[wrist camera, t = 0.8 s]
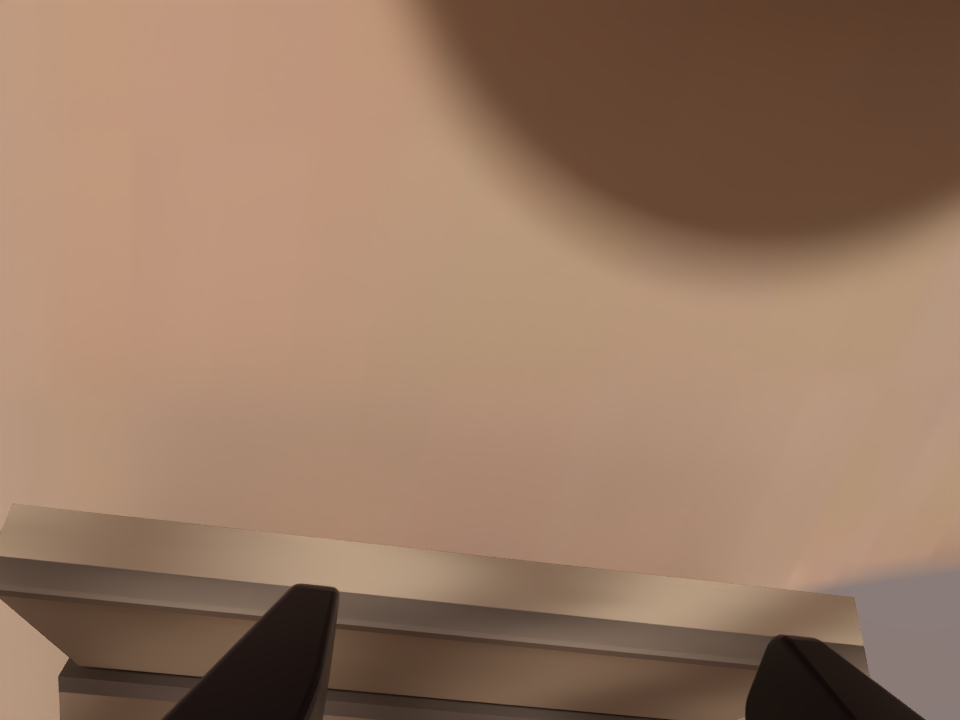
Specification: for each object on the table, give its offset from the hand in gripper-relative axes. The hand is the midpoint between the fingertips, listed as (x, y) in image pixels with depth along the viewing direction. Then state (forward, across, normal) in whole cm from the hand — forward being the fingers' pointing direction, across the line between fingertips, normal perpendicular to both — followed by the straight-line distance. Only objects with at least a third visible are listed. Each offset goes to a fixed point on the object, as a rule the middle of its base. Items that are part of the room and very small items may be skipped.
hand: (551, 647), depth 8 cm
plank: (+10, 0, +7) cm, 12 cm away
